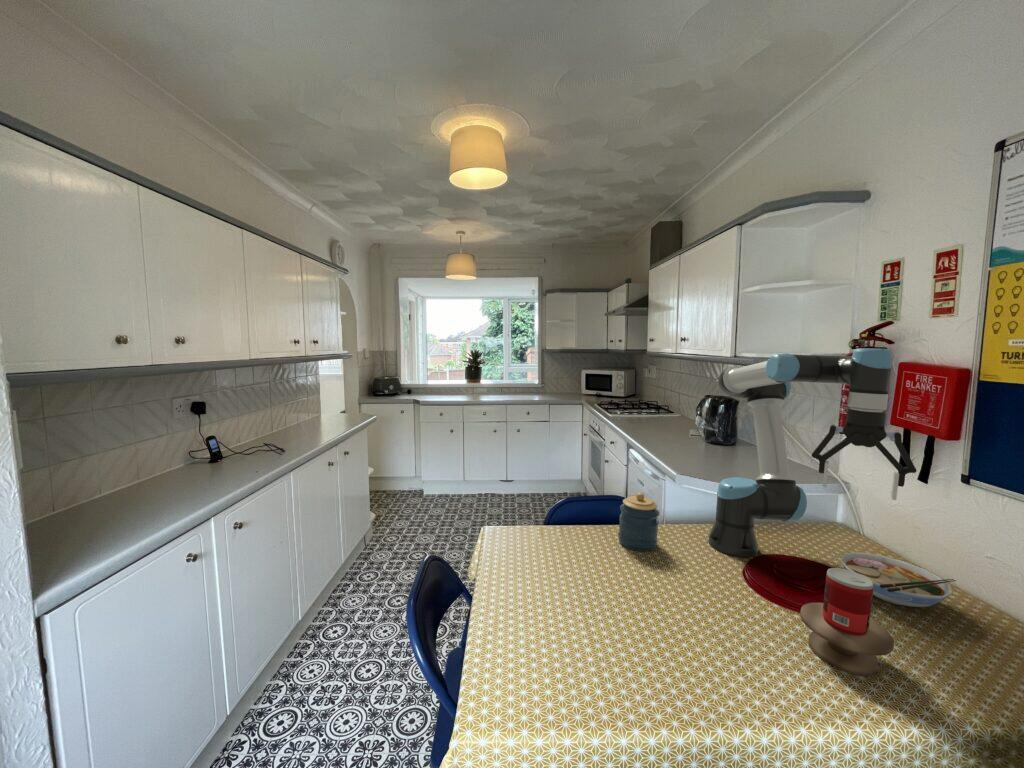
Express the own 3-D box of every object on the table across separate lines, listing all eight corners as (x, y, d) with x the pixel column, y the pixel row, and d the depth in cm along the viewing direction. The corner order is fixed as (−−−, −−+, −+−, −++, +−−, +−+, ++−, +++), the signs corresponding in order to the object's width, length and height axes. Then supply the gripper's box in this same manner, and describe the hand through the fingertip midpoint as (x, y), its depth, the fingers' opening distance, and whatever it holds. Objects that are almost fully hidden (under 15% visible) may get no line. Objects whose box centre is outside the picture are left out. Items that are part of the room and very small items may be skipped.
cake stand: (795, 657, 90) (798, 627, 90) (800, 621, 103) (802, 594, 102) (894, 697, 80) (898, 663, 80) (886, 651, 93) (889, 622, 92)
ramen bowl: (880, 572, 129) (883, 547, 128) (976, 619, 106) (980, 588, 106) (814, 578, 123) (817, 552, 123) (901, 629, 101) (905, 597, 100)
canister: (625, 531, 152) (628, 484, 150) (662, 542, 144) (665, 492, 143) (612, 544, 141) (615, 493, 140) (650, 556, 133) (653, 503, 132)
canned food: (877, 639, 87) (883, 589, 86) (834, 633, 88) (840, 583, 87) (853, 616, 94) (859, 570, 93) (815, 611, 95) (819, 565, 95)
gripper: (933, 414, 99) (923, 500, 101) (806, 403, 115) (799, 478, 116) (939, 417, 94) (928, 508, 95) (805, 405, 109) (797, 484, 110)
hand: (857, 491), depth 106 cm, fingers open, 13 cm apart
